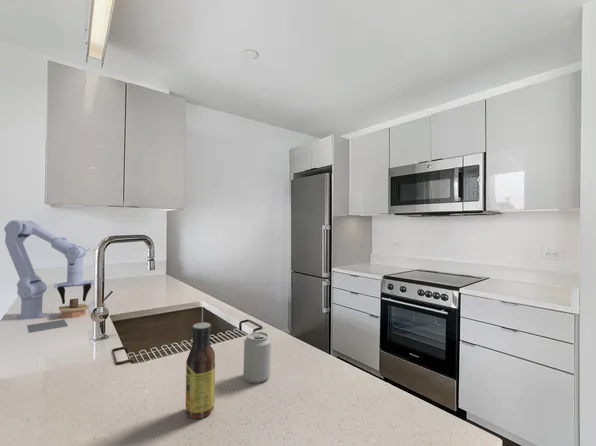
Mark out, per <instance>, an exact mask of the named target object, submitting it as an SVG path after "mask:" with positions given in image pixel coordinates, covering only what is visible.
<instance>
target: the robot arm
mask: <svg viewBox="0 0 596 446" xmlns="http://www.w3.org/2000/svg"><path fill="white" fill-rule="evenodd" d="M3 229H4V232H5V239H4V242H5V245H6V249H7V250H8V252H9V255H10V259H11V260H12V263H13V266H14V268H15V271H16V272H17V275H18V278H19V280H18V282H17V283H16V286H17V291H16V292H17V295H18V297H20V300H21V305H20V314H19V315H18V318H19V320H20V321H24V320H31V319H38V318H44V317H45V315H44V313H43V302H44V301H43V296H44V294H45V292H46V291H47V288H48V287H47V284H46V283H45V281H43V279H42V277H41V276H39V275H38V274H36V272H35V269H34V267H33V264H32V262H31V259H30V257H29V255H28V253H27V250H26V248H25V244H24V242H25V241H26V239H28V238H29V237H31V235H34V236H36V237H38V238H40V239H42V240H44V241H46V242H48V243H49V244H50V245H51V246H50V247H52V248H53V249H54V250H56V251H57V252H59V253H61V254H63V255H64V257H65V258H66V259H67V264H66V265H67V270H66V282H57V283H54V286H53V288H54V289H55V290H56V289H57V292H58V293H59V297H60V298H61V299H60V300H61V303H62V305H65V304H66V300H65V297H66V296H65V294H66V288H71V287H73V288H74V287H81V286H82V301H83V302H86V299H87V297H88V294H89V291H90V290H91V288H92V286H93V285H94V283H95V282H94V280H83V273H84V272H83V270H84V269H83V268H84V267H83V266H84V257H85V256H86V254H87V251H86V249H85V248H84V247H83V245H82V246H81V245H78V246H77V244H76V243H73V242H71V241H69V240H68V238H67V237H61V236H59V237H58V236H56V235H54V234H52V233H51V232H49V231H48V230H46V229H45V228H43V227H42V226H40V225H39V223H36V222H34V221H32V220H18V219H17V220H10V221H9V222H8V223H7V224H6V225H5V227H4V228H3Z"/></svg>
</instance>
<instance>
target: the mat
mask: <svg viewBox="0 0 596 446" xmlns="http://www.w3.org/2000/svg"><path fill="white" fill-rule="evenodd" d="M26 327H27V330H28V333H29V334H31V333H37V332H42V331H47V330H54V329H55V330H56V329H59V328H67V327H69V325H68V323H67V322H66V320H65V319H58V320H51V321H46V322H40V323H34V324H33V323H32V324H28V325H26Z"/></svg>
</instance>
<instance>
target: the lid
mask: <svg viewBox="0 0 596 446" xmlns="http://www.w3.org/2000/svg"><path fill="white" fill-rule="evenodd" d="M58 309H59V311H60V314H61V313H63V312H70V311H77V310H84V309H86V310H90V307H89V306H88V305H87V304H86V303H79V298H71V299H69V305H64V306H58Z"/></svg>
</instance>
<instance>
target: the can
mask: <svg viewBox="0 0 596 446" xmlns="http://www.w3.org/2000/svg"><path fill="white" fill-rule="evenodd" d="M269 336H270V335H269V334H268V333H267V332H264V331H252V332H249V333H248V334H247V335H246V338H245V339H244V342H243V344H244V345H243V378H244V379H245V380H246V381H247V382H249V383H250V384H251V383H252V384H261V383H264V382H266V381H267V380H268V379H269V378H270V376H271V363H272V362H271V361H272V360H271V359H272V358H271V355H272V339H271V338H270V337H269Z"/></svg>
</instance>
